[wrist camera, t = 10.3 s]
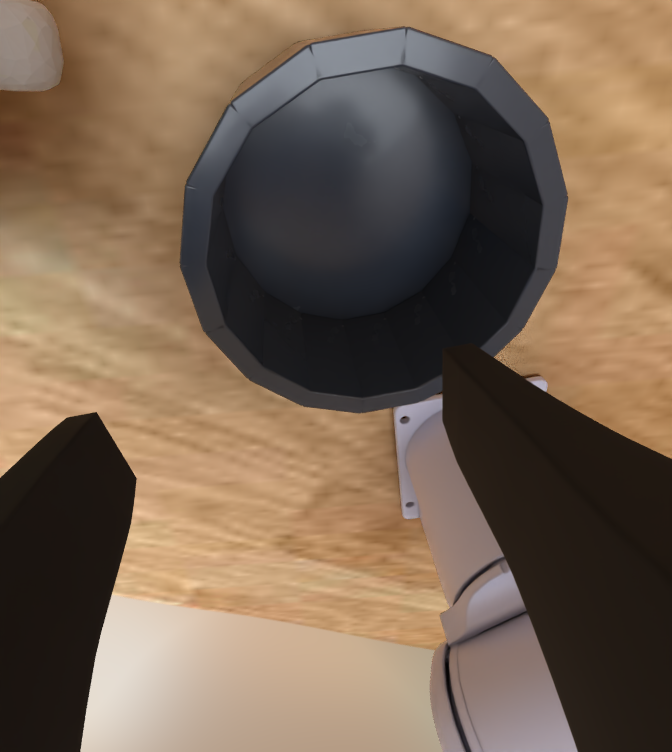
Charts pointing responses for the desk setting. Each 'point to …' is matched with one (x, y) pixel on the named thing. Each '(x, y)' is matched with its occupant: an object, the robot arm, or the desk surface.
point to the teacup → (28, 47)
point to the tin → (371, 217)
